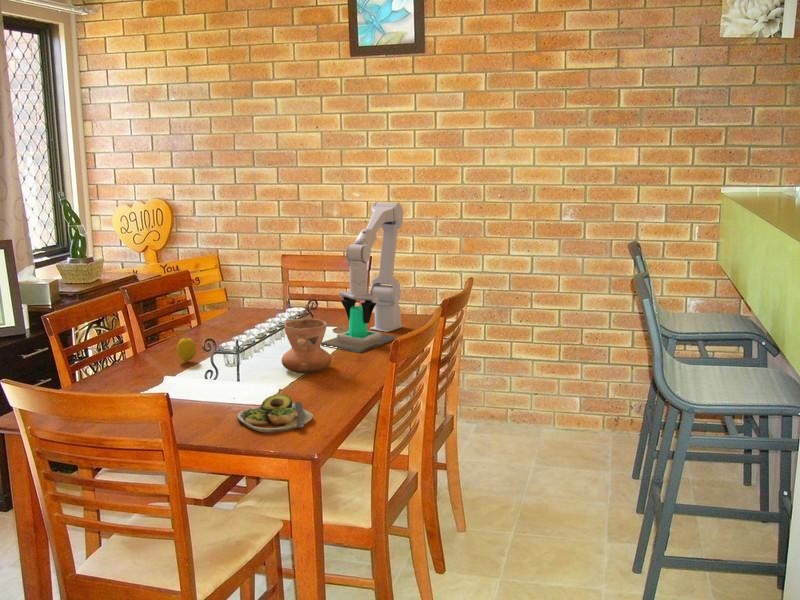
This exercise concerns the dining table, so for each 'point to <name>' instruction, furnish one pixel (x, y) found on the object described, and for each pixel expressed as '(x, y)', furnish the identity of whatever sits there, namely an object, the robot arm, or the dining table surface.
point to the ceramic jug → (305, 346)
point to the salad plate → (276, 415)
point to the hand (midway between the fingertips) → (358, 321)
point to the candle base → (358, 341)
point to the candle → (357, 322)
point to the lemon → (186, 349)
